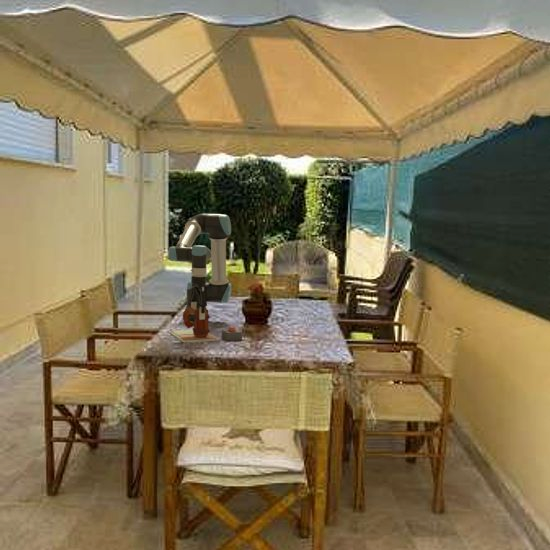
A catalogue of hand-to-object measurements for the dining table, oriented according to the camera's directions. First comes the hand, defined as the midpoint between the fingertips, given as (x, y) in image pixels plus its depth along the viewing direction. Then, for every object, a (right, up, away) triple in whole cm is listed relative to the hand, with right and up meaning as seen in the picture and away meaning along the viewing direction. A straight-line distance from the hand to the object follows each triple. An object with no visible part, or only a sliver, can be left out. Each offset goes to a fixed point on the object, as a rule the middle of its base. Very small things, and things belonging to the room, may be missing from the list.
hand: (197, 316), depth 326 cm
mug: (-1, -10, +2) cm, 11 cm away
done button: (+17, -9, +6) cm, 20 cm away
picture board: (-3, -11, +7) cm, 13 cm away
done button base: (+17, -12, +6) cm, 21 cm away
